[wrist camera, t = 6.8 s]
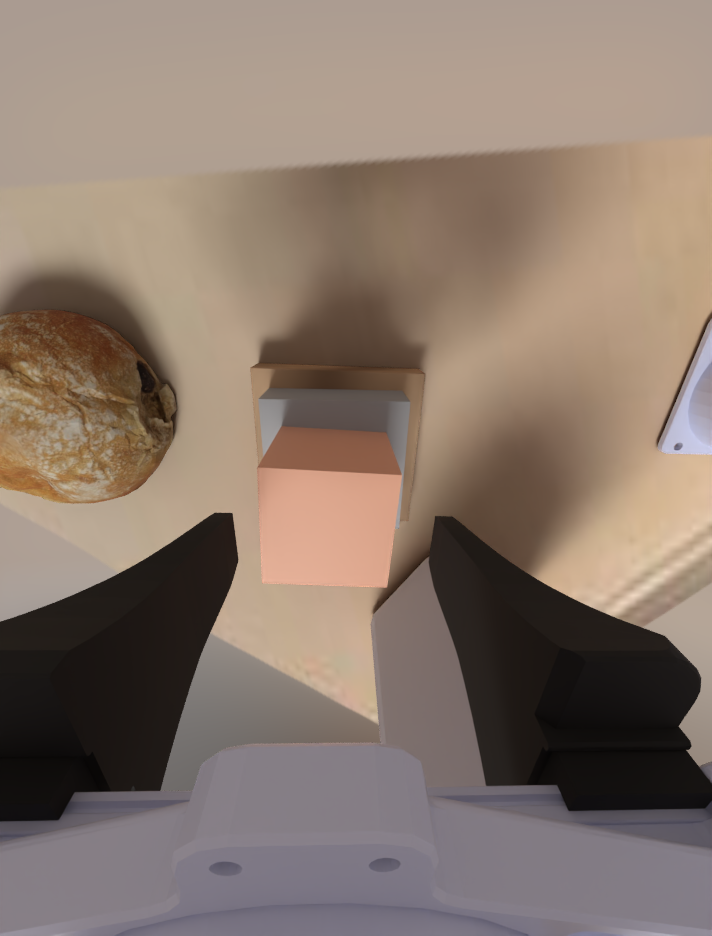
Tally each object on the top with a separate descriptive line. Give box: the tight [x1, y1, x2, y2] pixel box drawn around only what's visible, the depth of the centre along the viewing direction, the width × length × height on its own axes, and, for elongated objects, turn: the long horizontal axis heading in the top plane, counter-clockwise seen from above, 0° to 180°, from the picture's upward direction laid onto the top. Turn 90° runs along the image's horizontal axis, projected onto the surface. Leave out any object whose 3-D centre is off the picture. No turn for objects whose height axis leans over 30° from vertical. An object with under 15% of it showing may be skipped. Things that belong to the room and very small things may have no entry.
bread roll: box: [0, 310, 177, 504], centre depth 18 cm, size 10×10×8 cm
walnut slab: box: [250, 363, 425, 521], centre depth 21 cm, size 9×9×2 cm
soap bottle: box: [371, 557, 486, 787], centre depth 16 cm, size 9×9×25 cm
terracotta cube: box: [257, 426, 402, 588], centre depth 15 cm, size 5×5×5 cm
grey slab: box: [258, 388, 410, 529], centre depth 19 cm, size 7×7×2 cm
